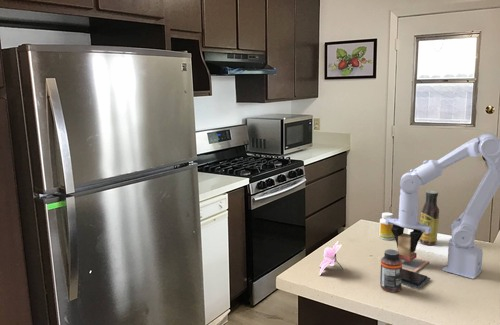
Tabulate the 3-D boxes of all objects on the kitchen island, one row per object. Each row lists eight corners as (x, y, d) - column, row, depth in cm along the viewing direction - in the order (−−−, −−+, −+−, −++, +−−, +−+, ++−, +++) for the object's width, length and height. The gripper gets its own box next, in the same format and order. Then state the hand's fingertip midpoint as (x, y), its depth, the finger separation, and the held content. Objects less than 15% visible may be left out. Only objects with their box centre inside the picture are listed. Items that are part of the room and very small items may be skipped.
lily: (328, 263, 148) (315, 240, 146) (359, 256, 142) (346, 233, 140) (318, 287, 139) (304, 264, 137) (351, 281, 132) (337, 257, 130)
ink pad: (430, 280, 132) (430, 276, 131) (419, 289, 126) (419, 285, 126) (399, 271, 139) (399, 266, 138) (387, 279, 133) (387, 275, 133)
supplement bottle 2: (384, 281, 132) (386, 246, 130) (404, 287, 128) (406, 250, 126) (376, 289, 127) (377, 252, 125) (396, 294, 123) (398, 257, 121)
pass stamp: (416, 257, 144) (417, 235, 142) (409, 261, 140) (410, 239, 139) (401, 253, 147) (402, 232, 146) (395, 257, 144) (396, 236, 142)
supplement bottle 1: (395, 240, 165) (396, 215, 163) (381, 240, 165) (382, 216, 164) (391, 235, 170) (392, 211, 169) (377, 235, 171) (378, 211, 169)
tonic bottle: (415, 241, 164) (417, 190, 160) (428, 239, 166) (431, 188, 162) (426, 247, 158) (429, 194, 154) (441, 245, 160) (444, 192, 156)
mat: (428, 262, 144) (429, 261, 144) (414, 273, 137) (414, 272, 136) (397, 254, 152) (397, 252, 152) (382, 264, 144) (382, 262, 144)
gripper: (435, 211, 139) (433, 251, 141) (392, 203, 149) (391, 240, 151) (426, 216, 134) (424, 257, 136) (383, 207, 144) (381, 246, 146)
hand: (406, 249), depth 143 cm, fingers closed on pass stamp, 4 cm apart
